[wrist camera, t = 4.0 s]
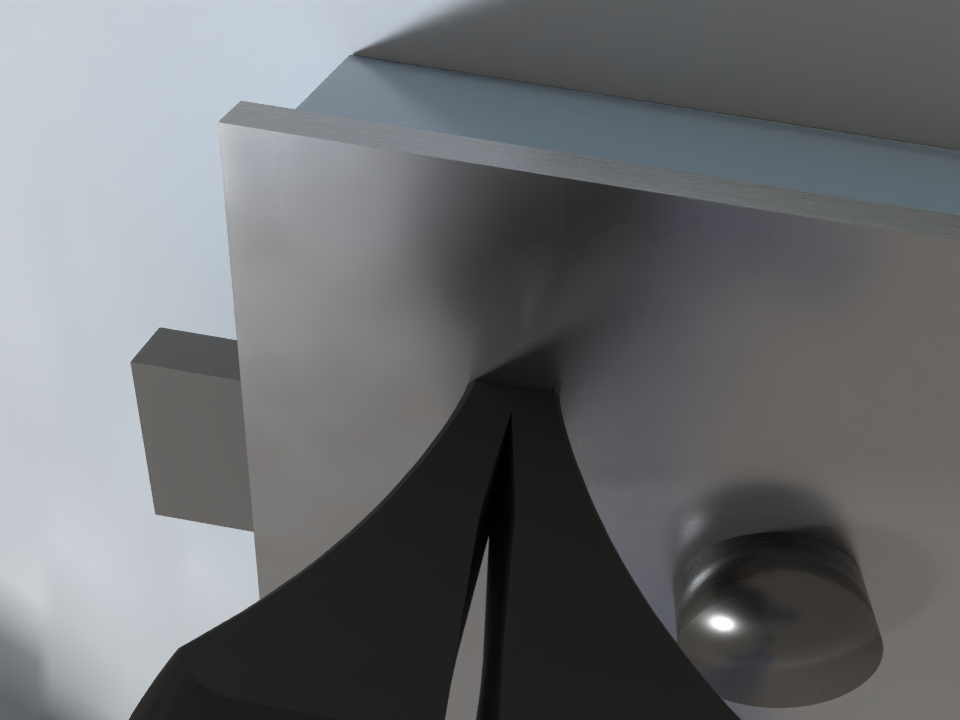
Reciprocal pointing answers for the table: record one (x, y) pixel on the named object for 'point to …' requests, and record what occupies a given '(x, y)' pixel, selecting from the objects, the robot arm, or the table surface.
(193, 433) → the grey slotted box
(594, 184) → the cabinet door
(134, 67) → the table surface
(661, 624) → the robot arm
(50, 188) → the table surface
